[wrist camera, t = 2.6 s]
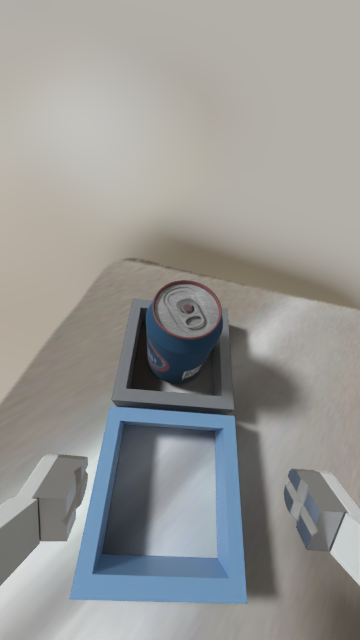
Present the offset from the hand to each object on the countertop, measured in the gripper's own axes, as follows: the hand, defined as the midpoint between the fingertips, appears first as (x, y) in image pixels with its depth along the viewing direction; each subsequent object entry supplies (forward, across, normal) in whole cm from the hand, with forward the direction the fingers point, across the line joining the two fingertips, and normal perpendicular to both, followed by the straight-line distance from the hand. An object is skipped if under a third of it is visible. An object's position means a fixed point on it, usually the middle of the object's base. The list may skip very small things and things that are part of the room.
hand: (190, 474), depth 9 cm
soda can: (+19, 0, +4) cm, 20 cm away
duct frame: (+15, 0, +8) cm, 17 cm away
